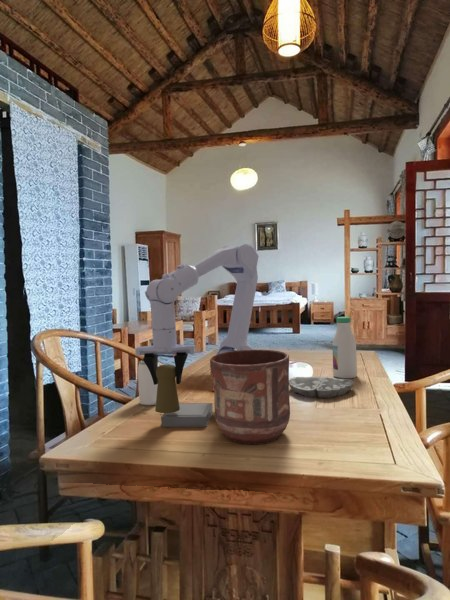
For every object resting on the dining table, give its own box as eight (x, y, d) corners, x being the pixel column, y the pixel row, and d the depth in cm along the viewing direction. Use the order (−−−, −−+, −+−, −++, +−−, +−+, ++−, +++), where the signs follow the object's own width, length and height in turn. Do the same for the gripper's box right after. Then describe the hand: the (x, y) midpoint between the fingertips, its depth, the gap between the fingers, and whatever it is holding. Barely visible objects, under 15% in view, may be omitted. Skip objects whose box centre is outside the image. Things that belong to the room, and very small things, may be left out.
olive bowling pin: (168, 414, 107) (167, 368, 107) (149, 410, 111) (148, 366, 110) (184, 408, 112) (183, 364, 112) (166, 404, 116) (165, 361, 115)
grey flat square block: (212, 412, 120) (212, 402, 120) (206, 426, 109) (205, 416, 109) (172, 412, 121) (171, 403, 121) (161, 426, 110) (161, 416, 110)
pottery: (216, 422, 112) (212, 350, 110) (287, 420, 111) (285, 347, 110) (211, 452, 94) (207, 366, 93) (297, 449, 93) (293, 363, 92)
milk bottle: (359, 374, 154) (358, 316, 152) (353, 380, 147) (351, 318, 146) (337, 373, 158) (335, 315, 156) (330, 377, 151) (328, 318, 150)
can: (157, 406, 128) (155, 364, 127) (136, 405, 129) (133, 364, 128) (165, 399, 134) (163, 359, 133) (144, 399, 136) (142, 359, 135)
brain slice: (280, 399, 130) (280, 388, 130) (293, 384, 146) (293, 375, 146) (351, 403, 123) (351, 392, 123) (356, 387, 139) (356, 377, 139)
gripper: (129, 331, 107) (133, 388, 108) (190, 329, 106) (193, 387, 107) (139, 327, 114) (142, 380, 115) (195, 325, 113) (198, 379, 114)
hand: (167, 383), depth 112 cm, fingers closed on olive bowling pin, 5 cm apart
